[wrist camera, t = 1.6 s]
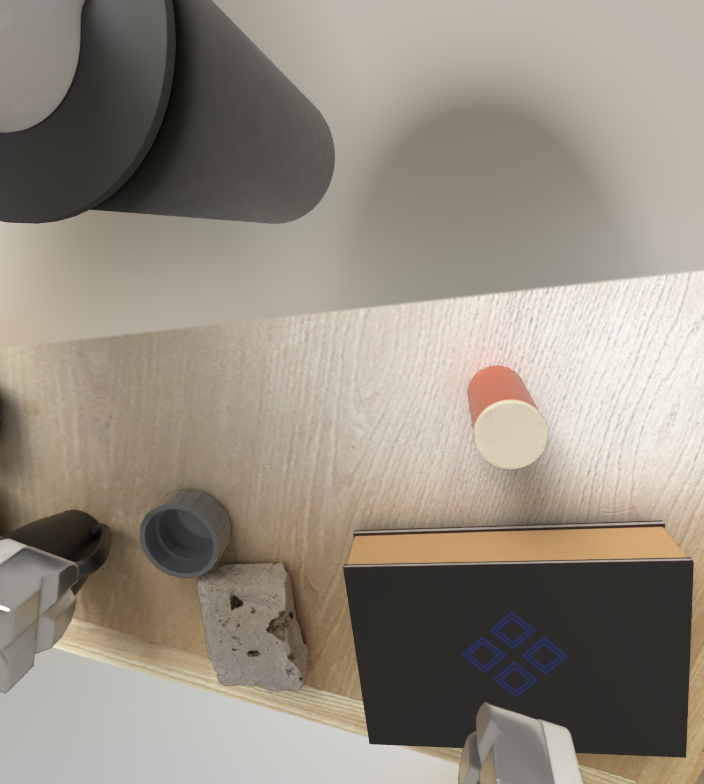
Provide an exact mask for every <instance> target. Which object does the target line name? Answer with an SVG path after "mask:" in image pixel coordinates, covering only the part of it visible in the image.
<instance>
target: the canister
mask: <svg viewBox="0 0 704 784" xmlns="http://www.w3.org/2000/svg"><path fill="white" fill-rule="evenodd" d="M468 400H469V406H470V412H471V418H472V425H473V431H474V442H475V446H476V448H477V450H478V452H479V454H480V455H481V456H482V458H483V459H484V460H486V461H487V462H488V463H490V464H491V465H493V466H496V467H499V468H503V469H519V468H523V467H525V466H528V465H530V464H532V463H533V462H534V461H536V460H537V459H538V458H539V457H540V456H541V455H542V453H543V452H544V450H545V448H546V445H547V442H548V428H547V424H546V422H545V420H544V418H543V416H542V415H541V413H540V412H539V411H538V409H537V407H536V405H535V403H534V402H533V400H532V398H531V396H530V394H529V393H528V391H527V389H526V387H525V385H524V384H523V382H522V380H521V378H520V377H519V376H518V375H517V374H516V373H515V372H514V371H512V370H511V369H509V368H506V367H502V366H492V367H488V368H485V369H483V370H481V371H480V372H478V373H477V374H476V375H475V376H474V377H473V379H472V380H471V382H470V384H469V387H468Z"/></svg>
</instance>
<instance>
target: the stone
mask: <svg viewBox="0 0 704 784" xmlns="http://www.w3.org/2000/svg"><path fill="white" fill-rule="evenodd" d="M291 580H292V579H290V576H289V573H288V572H287V570H286V568H285V566H284V563H283V562H281V563H276V564H273V563H256V564H231V565H224V566H222V567H219V568H218V569H216V570H214V571H209V572H206V573H205V574H204V575H202V576H201V577H200V578H199V579H198V581H197V591H198V593H199V599H200V603H201V611H202V618H203V626H204V630H205V633H206V643H207V652H208V654H209V659H210V661H211V662H212V664H213V667H214V670H215V671H216V672H217V673H218V674H217V678H218V680H219V682H220V684H222V685H224V686H236V685H243V686H253V687H254V686H257V685H259V686H262V687H263V688H265V689H267V690H270V691H298V690H301V689H302V687H303V685H304V678H305V677H306V673H307V664H308V661H307V657H308V655H309V651H308V648H307V645H305V644H304V643H303V639H302V636H301V630H300V626H299V623H298V622H297V620H296V612H295V609H294V598H293V590H292V582H291Z"/></svg>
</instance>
